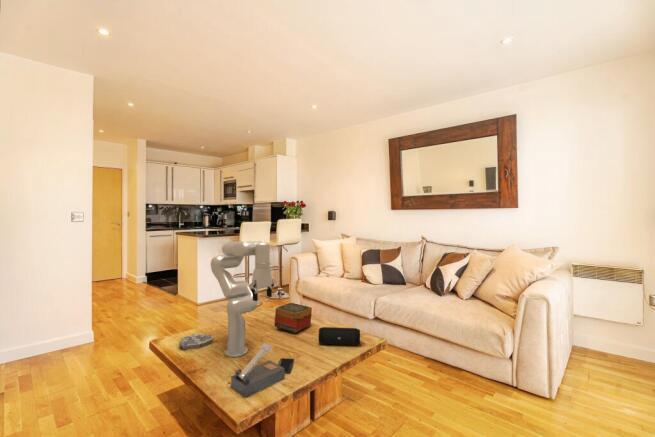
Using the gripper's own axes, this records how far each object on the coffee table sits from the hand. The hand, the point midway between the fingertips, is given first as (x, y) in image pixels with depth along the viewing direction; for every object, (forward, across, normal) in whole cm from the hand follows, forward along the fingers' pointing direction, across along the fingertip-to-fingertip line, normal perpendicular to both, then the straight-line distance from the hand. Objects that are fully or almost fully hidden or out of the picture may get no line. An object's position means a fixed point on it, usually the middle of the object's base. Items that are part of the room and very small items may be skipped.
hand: (262, 298), depth 160 cm
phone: (+37, -9, +8) cm, 39 cm away
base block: (+36, +11, +9) cm, 39 cm away
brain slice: (+36, +5, -55) cm, 66 cm away
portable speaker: (+37, -50, +15) cm, 64 cm away
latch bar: (+26, +12, +9) cm, 30 cm away
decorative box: (+36, -51, -25) cm, 68 cm away
